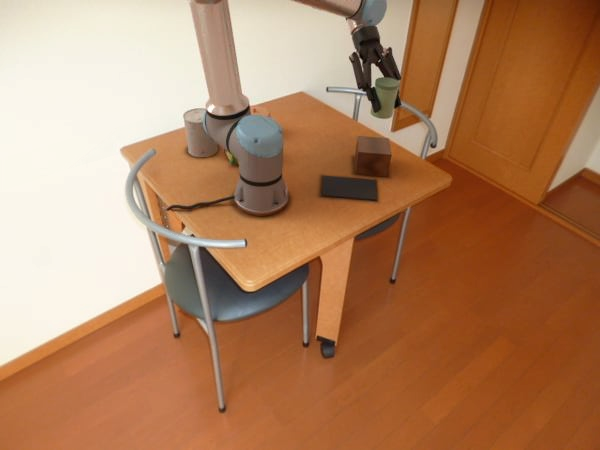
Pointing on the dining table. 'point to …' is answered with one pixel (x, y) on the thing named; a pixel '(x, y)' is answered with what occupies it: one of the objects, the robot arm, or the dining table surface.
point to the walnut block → (372, 156)
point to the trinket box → (259, 111)
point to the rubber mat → (349, 188)
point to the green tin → (386, 96)
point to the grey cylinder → (198, 134)
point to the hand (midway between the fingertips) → (387, 108)
